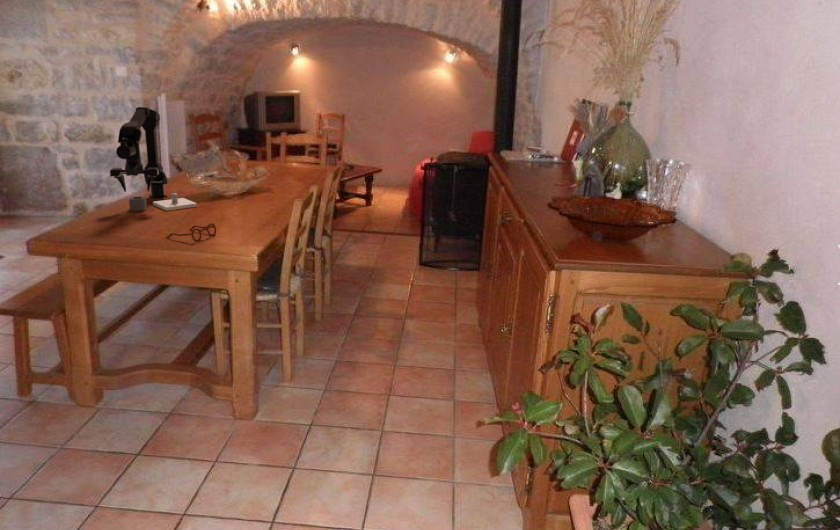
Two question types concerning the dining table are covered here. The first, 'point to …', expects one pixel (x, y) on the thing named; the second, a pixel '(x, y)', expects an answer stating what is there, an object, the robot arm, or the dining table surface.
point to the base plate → (174, 203)
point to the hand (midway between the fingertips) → (136, 191)
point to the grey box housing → (138, 203)
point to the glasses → (197, 230)
